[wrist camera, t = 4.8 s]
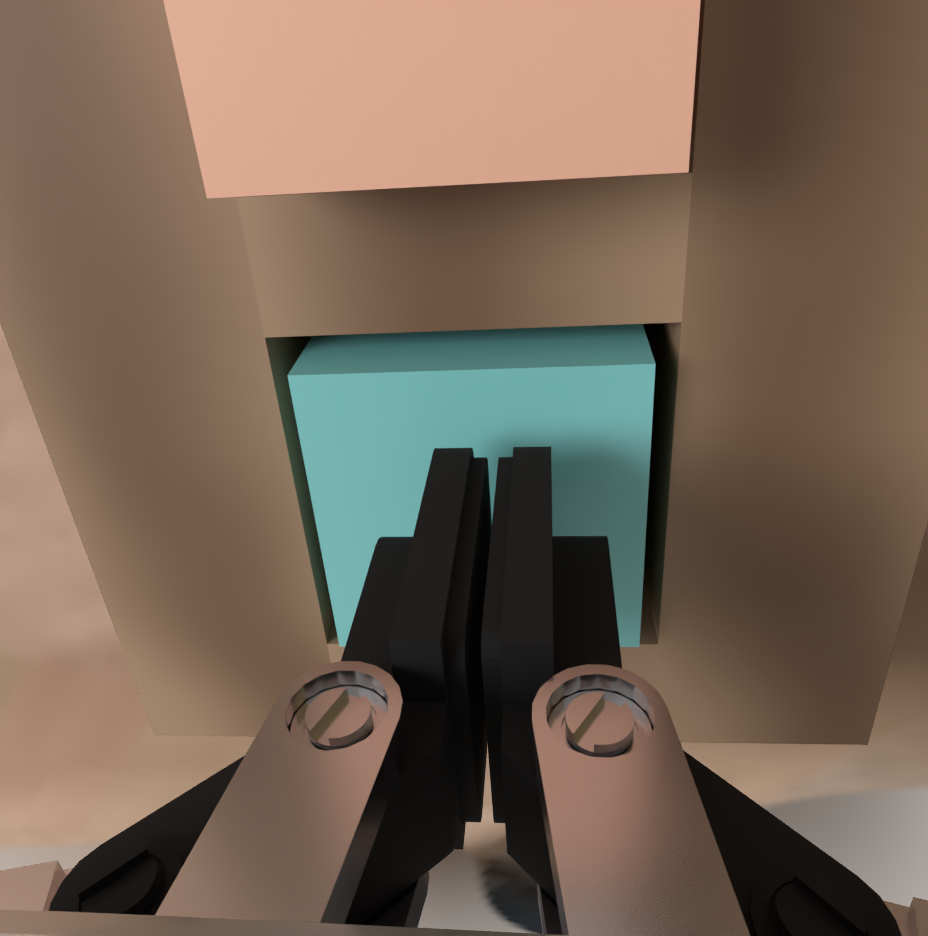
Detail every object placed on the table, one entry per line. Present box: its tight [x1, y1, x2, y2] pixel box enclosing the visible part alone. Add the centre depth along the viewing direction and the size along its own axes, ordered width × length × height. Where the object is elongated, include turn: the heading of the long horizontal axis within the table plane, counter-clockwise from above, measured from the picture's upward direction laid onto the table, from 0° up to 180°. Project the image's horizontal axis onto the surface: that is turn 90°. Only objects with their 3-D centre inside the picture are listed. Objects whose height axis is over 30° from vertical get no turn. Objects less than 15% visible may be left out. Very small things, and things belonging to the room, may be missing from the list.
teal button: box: [287, 324, 656, 647], centre depth 14 cm, size 5×5×3 cm
